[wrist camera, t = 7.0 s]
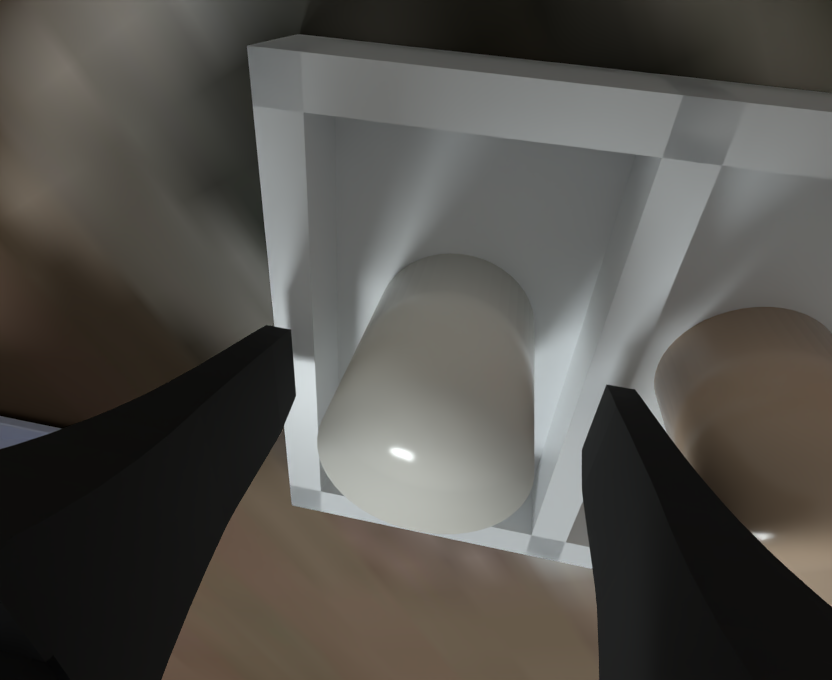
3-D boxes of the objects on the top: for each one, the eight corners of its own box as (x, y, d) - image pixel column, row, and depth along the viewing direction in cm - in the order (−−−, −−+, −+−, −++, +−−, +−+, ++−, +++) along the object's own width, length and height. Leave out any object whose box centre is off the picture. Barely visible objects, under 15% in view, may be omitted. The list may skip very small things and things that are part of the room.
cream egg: (379, 374, 15) (324, 513, 11) (378, 244, 13) (308, 363, 9) (521, 395, 15) (516, 549, 11) (548, 264, 12) (553, 400, 8)
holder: (318, 448, 19) (291, 505, 17) (298, 34, 11) (246, 45, 9) (784, 541, 17) (819, 616, 15) (1130, 126, 10) (1290, 164, 8)
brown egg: (632, 421, 15) (670, 588, 11) (689, 293, 12) (765, 446, 8) (789, 449, 14) (890, 635, 10) (880, 322, 12) (1060, 499, 8)
